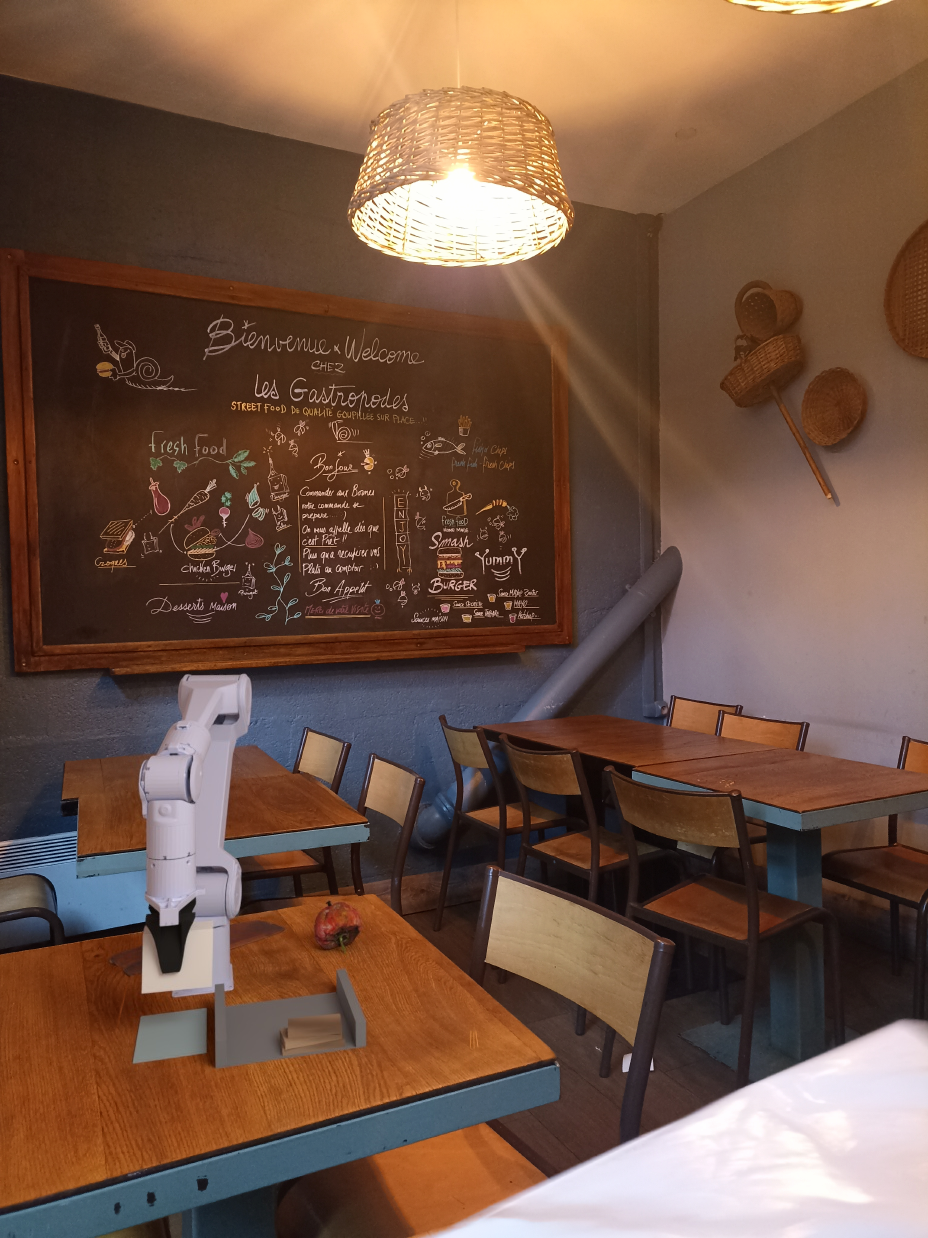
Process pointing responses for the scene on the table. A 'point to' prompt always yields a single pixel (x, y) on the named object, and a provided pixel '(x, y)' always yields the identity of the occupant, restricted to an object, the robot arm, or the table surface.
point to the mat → (171, 1035)
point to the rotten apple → (337, 925)
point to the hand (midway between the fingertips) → (171, 966)
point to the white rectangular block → (193, 966)
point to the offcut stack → (312, 1034)
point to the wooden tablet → (238, 937)
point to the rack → (281, 1023)
